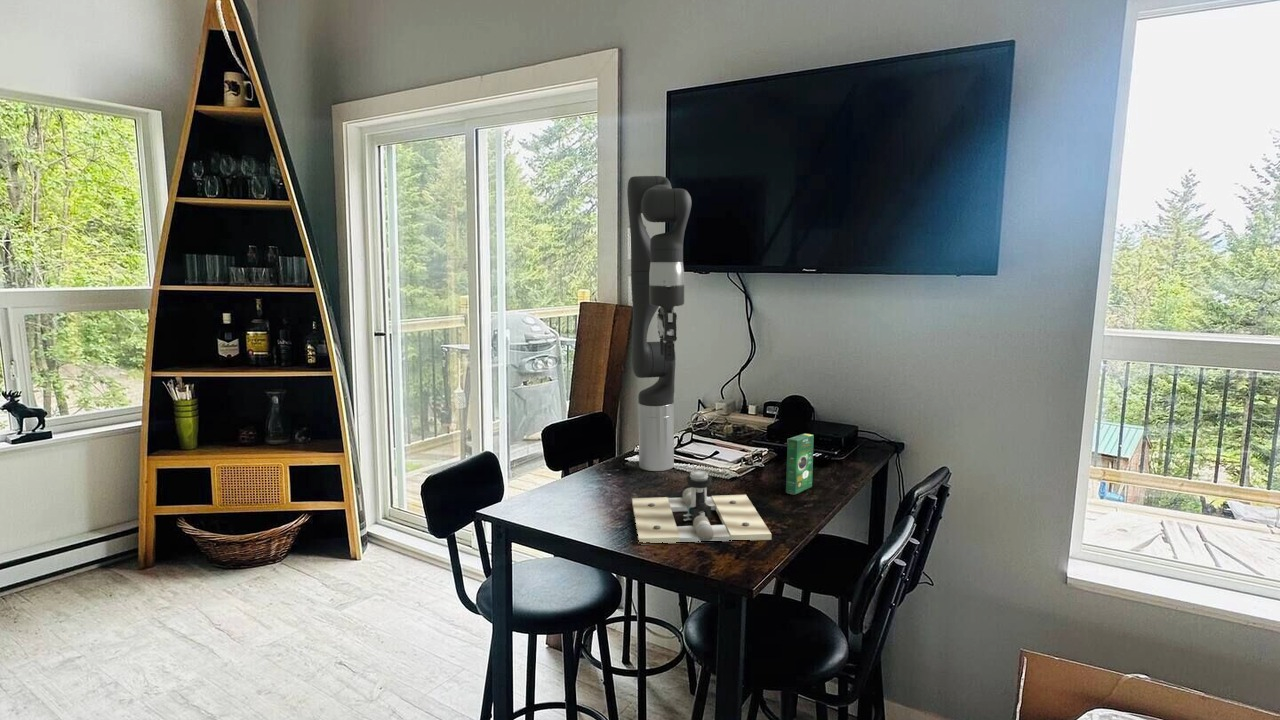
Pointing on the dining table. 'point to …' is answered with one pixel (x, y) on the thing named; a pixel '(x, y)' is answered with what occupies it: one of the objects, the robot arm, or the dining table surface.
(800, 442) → the coffee box
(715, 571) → the dining table surface
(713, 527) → the hinge plate
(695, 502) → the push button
